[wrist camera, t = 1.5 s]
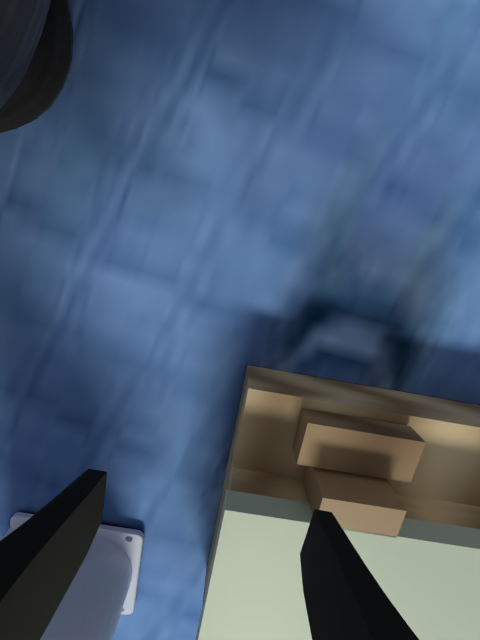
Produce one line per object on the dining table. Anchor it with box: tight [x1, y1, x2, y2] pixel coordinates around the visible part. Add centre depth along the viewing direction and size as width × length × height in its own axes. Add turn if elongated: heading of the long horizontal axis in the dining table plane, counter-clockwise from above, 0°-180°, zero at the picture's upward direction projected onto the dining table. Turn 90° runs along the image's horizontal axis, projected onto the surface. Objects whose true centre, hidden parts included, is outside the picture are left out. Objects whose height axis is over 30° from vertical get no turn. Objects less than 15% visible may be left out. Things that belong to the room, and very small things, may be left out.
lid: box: [196, 466, 480, 640], centre depth 16 cm, size 17×14×5 cm
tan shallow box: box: [203, 365, 480, 601], centre depth 19 cm, size 16×17×5 cm
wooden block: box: [292, 408, 426, 483], centre depth 16 cm, size 6×2×1 cm, turn 80°
